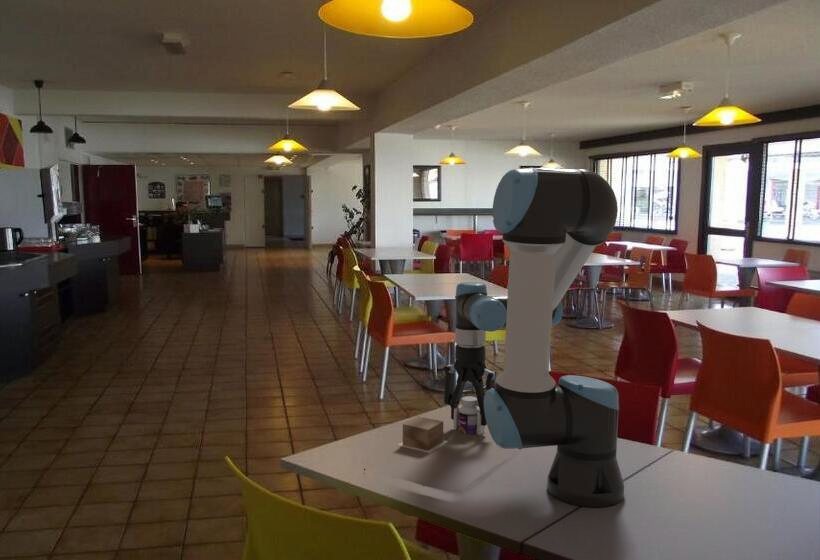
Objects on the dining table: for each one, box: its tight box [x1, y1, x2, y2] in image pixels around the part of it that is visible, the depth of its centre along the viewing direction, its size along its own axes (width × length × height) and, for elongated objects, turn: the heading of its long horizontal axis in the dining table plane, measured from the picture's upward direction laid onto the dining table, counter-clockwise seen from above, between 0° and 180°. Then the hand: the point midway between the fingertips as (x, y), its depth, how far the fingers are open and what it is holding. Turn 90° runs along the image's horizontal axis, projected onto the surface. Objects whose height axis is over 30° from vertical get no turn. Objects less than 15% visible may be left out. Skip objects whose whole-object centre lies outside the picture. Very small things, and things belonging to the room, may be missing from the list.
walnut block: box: [402, 416, 444, 451], centre depth 159 cm, size 7×7×5 cm
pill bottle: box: [457, 395, 480, 435], centre depth 168 cm, size 5×5×10 cm
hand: (468, 434), depth 169 cm, fingers open, 6 cm apart
